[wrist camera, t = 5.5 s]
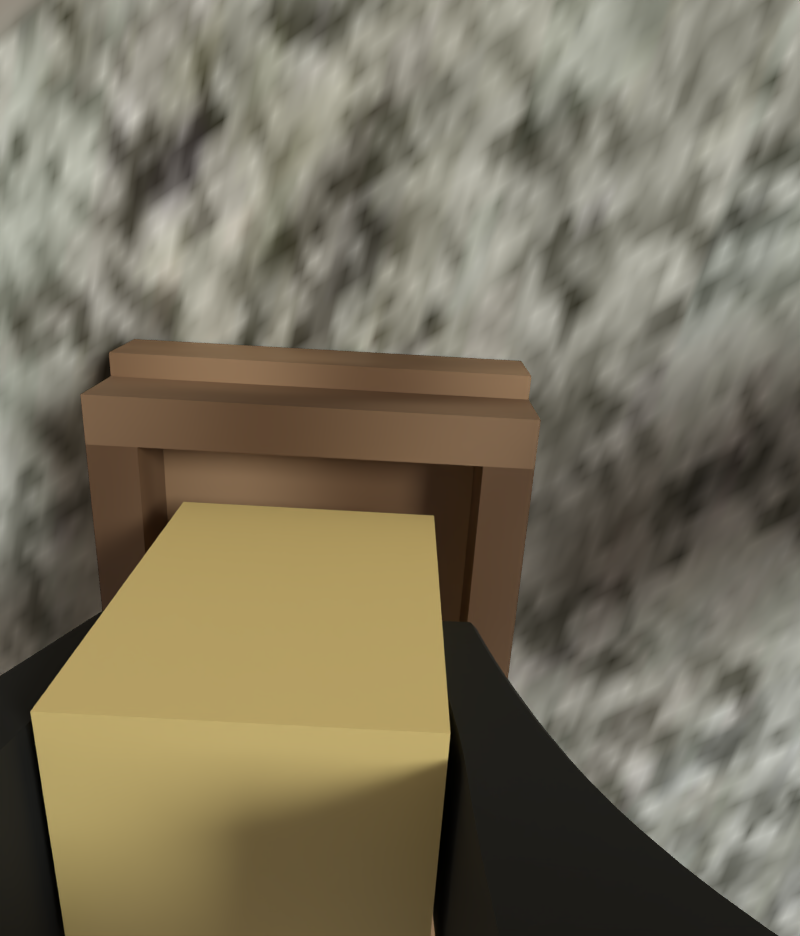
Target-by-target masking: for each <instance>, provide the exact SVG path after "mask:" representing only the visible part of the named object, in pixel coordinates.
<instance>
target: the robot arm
mask: <svg viewBox="0 0 800 936" xmlns="http://www.w3.org/2000/svg"><path fill="white" fill-rule="evenodd" d="M102 613H103V611H102V612H100V613H99V614H97V615H96V616H94V617H92V618H91V619H89V620H88V621H86V622H84V623H83V624H81V625H80V626H78V627H77V628H75V629H73V630H72V631H70V632H69V633H67V634H66V635H64V636H63V637H61V638H59V639H58V640H56V641H55V642H53V643H52V644H50V645H49V646H47V647H45V648H44V649H42V650H41V651H39V652H37V653H36V654H34V655H33V656H31V657H30V658H28V659H26V660H25V661H23V662H22V663H20V664H19V665H17V666H15V667H14V668H12V669H11V670H9V671H7V672H6V673H4V674H3V675H1V676H0V936H65V932H64V925H63V919H62V912H61V906H60V899H59V893H58V886H57V880H56V874H55V867H54V861H53V854H52V848H51V841H50V835H49V829H48V822H47V816H46V809H45V803H44V796H43V790H42V783H41V777H40V771H39V764H38V758H37V751H36V745H35V738H34V732H33V726H32V719H31V713H30V711H31V710H32V709H33V707H34V706H35V705H36V703H37V702H38V700H39V699H40V698H41V696H42V695H43V694H44V692H45V691H46V690H47V688H48V687H49V685H50V684H51V683H52V681H53V680H54V679H55V677H56V676H57V674H58V673H59V672H60V670H61V669H62V668H63V666H64V665H65V663H66V662H67V661H68V659H69V658H70V657H71V655H72V654H73V653H74V651H75V650H76V648H77V647H78V646H79V644H80V643H81V642H82V640H83V639H84V637H85V636H86V635H87V633H88V632H89V631H90V629H91V628H92V626H93V625H94V624H95V622H96V621H97V620H98V618H99V617H100V616H101V614H102ZM442 628H443V641H444V655H445V668H446V681H447V694H448V708H449V721H450V744H449V754H448V764H447V774H446V784H445V794H444V805H443V815H442V825H441V835H440V845H439V855H438V865H437V876H436V886H435V896H434V906H433V921H434V931H435V936H778V935H776V934H775V933H773V932H772V931H770V930H769V929H767V928H766V927H765V926H763V925H762V924H760V923H759V922H758V921H756V920H755V919H754V918H752V917H751V916H749V915H748V914H747V913H745V912H744V911H742V910H741V909H740V908H738V907H737V906H736V905H734V904H733V903H731V902H730V901H729V900H727V899H726V898H724V897H723V896H722V895H720V894H719V893H718V892H716V891H715V890H714V889H712V888H711V887H710V886H708V885H707V884H706V883H705V882H703V881H702V880H701V879H699V878H698V877H697V876H696V875H694V874H693V873H692V872H690V871H689V870H688V869H687V868H685V867H684V866H683V865H682V864H680V863H679V862H678V861H677V860H676V859H674V858H673V857H672V856H671V855H670V854H669V853H667V852H666V851H665V850H664V849H663V848H661V847H660V846H659V845H658V844H657V843H656V842H654V841H653V840H652V839H651V838H650V837H648V836H647V835H646V834H645V833H644V832H643V831H641V830H640V829H639V828H638V827H637V826H636V825H635V824H634V823H632V822H631V821H630V820H629V819H628V818H627V817H626V816H625V815H624V814H623V813H621V812H620V811H619V810H618V809H617V808H616V807H615V806H614V805H613V804H612V803H611V802H610V801H609V800H608V799H607V798H606V797H605V796H604V795H603V794H602V793H601V792H600V791H599V790H598V789H597V788H596V787H595V786H594V785H593V784H592V783H591V782H590V781H589V780H588V779H587V778H586V777H585V776H584V774H583V773H582V772H581V771H580V770H579V769H578V768H577V767H576V766H575V764H574V763H573V762H572V761H571V760H570V759H569V758H568V757H567V755H566V754H565V753H564V752H563V751H562V749H561V748H560V747H559V746H558V745H557V743H556V742H555V741H554V740H553V739H552V738H551V736H550V735H549V734H548V733H547V731H546V730H545V729H544V728H543V726H542V725H541V724H540V723H539V721H538V720H537V719H536V717H535V716H534V715H533V713H532V712H531V711H530V709H529V708H528V707H527V705H526V704H525V703H524V701H523V700H522V698H521V697H520V696H519V694H518V693H517V692H516V690H515V689H514V687H513V686H512V685H511V683H510V682H509V680H508V679H507V677H506V676H505V674H504V673H503V671H502V670H501V668H500V667H499V665H498V664H497V662H496V660H495V659H494V657H493V656H492V654H491V652H490V651H489V649H488V647H487V646H486V644H485V642H484V641H483V639H482V637H481V635H480V634H479V632H478V630H477V629H476V628H475V626H474V625H473V624H472V623H471V622H456V621H442Z"/></svg>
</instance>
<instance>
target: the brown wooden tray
mask: <svg viewBox="0 0 800 936" xmlns="http://www.w3.org/2000/svg"><path fill="white" fill-rule="evenodd" d="M109 360H110V372H111V376H110V377H109V378H107V379H105V380H104V381H102V382H100V383H99V384H97V385H95V386H94V387H92V388H90V389H89V390H87V391H85V392H84V393H82V394H80V395H81V405H82V415H83V424H84V434H85V444H86V454H87V464H88V473H89V483H90V493H91V503H92V513H93V522H94V532H95V542H96V552H97V561H98V571H99V581H100V591H101V601H102V610H103V611H104V610H105V609H106V607H107V606H108V605H109V603H110V602H111V600H112V599H113V598H114V596H115V595H116V594H117V592H118V591H119V589H120V588H121V587H122V585H123V584H124V583H125V581H126V580H127V579H128V577H129V576H130V574H131V573H132V572H133V570H134V569H135V568H136V566H137V565H138V563H139V562H140V561H141V559H142V558H143V557H144V555H145V554H146V552H147V551H148V550H149V548H150V547H151V546H152V544H153V543H154V542H155V540H156V539H157V537H158V536H159V535H160V533H161V532H162V531H163V529H164V528H165V526H166V525H167V524H168V522H169V521H170V520H171V518H172V517H173V515H174V514H175V513H176V511H177V510H178V509H179V507H180V506H181V505H182V503H183V502H196V503H214V504H232V505H250V506H269V507H287V508H305V509H323V510H342V511H360V512H378V513H396V514H415V515H433V516H434V522H435V536H436V549H437V562H438V575H439V588H440V602H441V615H442V621H456V622H471V623H472V624H473V625H474V626H475V628H476V629H477V630H478V632H479V634H480V635H481V637H482V639H483V641H484V642H485V644H486V646H487V647H488V649H489V651H490V652H491V654H492V656H493V657H494V659H495V660H496V662H497V664H498V665H499V667H500V668H501V670H502V671H503V673H504V674H505V676H506V677H507V679H508V672H509V664H510V657H511V649H512V641H513V633H514V625H515V617H516V610H517V602H518V594H519V586H520V578H521V570H522V562H523V555H524V547H525V539H526V531H527V523H528V515H529V507H530V500H531V492H532V484H533V476H534V468H535V460H536V452H537V445H538V437H539V429H540V421H541V420H540V418H539V417H538V415H537V413H536V411H535V410H534V408H533V406H532V405H531V403H530V401H529V400H528V399H529V391H530V383H531V375H530V374H529V372H528V371H527V369H526V368H525V366H524V365H523V363H522V362H521V361H512V360H494V359H476V358H459V357H441V356H423V355H405V354H388V353H370V352H352V351H335V350H317V349H299V348H281V347H264V346H246V345H228V344H211V343H193V342H175V341H157V340H140V339H134V340H132V341H130V342H128V343H126V344H124V345H122V346H120V347H119V348H117V349H115V350H113V351H111V352H109ZM431 936H435V931H434V921H433V916H432V926H431Z"/></svg>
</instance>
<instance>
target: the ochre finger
mask: <svg viewBox="0 0 800 936" xmlns="http://www.w3.org/2000/svg"><path fill="white" fill-rule="evenodd" d="M30 713H31V719H32V726H33V732H34V738H35V745H36V751H37V758H38V764H39V771H40V777H41V783H42V790H43V796H44V803H45V809H46V816H47V822H48V829H49V835H50V841H51V848H52V854H53V861H54V867H55V874H56V880H57V886H58V893H59V899H60V906H61V912H62V919H63V925H64V932H65V936H431V926H432V916H433V906H434V896H435V886H436V876H437V865H438V855H439V845H440V835H441V825H442V815H443V805H444V794H445V784H446V774H447V764H448V754H449V744H450V721H449V708H448V694H447V681H446V668H445V655H444V641H443V628H442V615H441V602H440V588H439V575H438V562H437V549H436V536H435V522H434V516H433V515H415V514H396V513H378V512H360V511H342V510H323V509H305V508H287V507H269V506H250V505H232V504H214V503H196V502H183V503H182V505H181V506H180V507H179V509H178V510H177V511H176V513H175V514H174V515H173V517H172V518H171V520H170V521H169V522H168V524H167V525H166V526H165V528H164V529H163V531H162V532H161V533H160V535H159V536H158V537H157V539H156V540H155V542H154V543H153V544H152V546H151V547H150V548H149V550H148V551H147V552H146V554H145V555H144V557H143V558H142V559H141V561H140V562H139V563H138V565H137V566H136V568H135V569H134V570H133V572H132V573H131V574H130V576H129V577H128V579H127V580H126V581H125V583H124V584H123V585H122V587H121V588H120V589H119V591H118V592H117V594H116V595H115V596H114V598H113V599H112V600H111V602H110V603H109V605H108V606H107V607H106V609H105V610H104V611H103V613H102V614H101V616H100V617H99V618H98V620H97V621H96V622H95V624H94V625H93V626H92V628H91V629H90V631H89V632H88V633H87V635H86V636H85V637H84V639H83V640H82V642H81V643H80V644H79V646H78V647H77V648H76V650H75V651H74V653H73V654H72V655H71V657H70V658H69V659H68V661H67V662H66V663H65V665H64V666H63V668H62V669H61V670H60V672H59V673H58V674H57V676H56V677H55V679H54V680H53V681H52V683H51V684H50V685H49V687H48V688H47V690H46V691H45V692H44V694H43V695H42V696H41V698H40V699H39V700H38V702H37V703H36V705H35V706H34V707H33V709H32V710H31V711H30Z"/></svg>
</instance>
